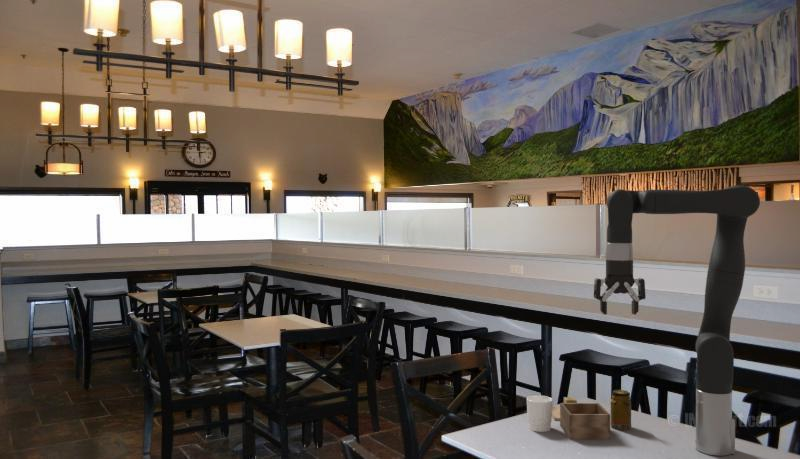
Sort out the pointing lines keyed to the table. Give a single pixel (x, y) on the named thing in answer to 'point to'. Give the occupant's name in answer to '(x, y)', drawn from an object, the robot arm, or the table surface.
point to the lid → (557, 409)
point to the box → (584, 421)
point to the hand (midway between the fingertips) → (619, 314)
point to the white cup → (539, 413)
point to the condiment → (621, 410)
